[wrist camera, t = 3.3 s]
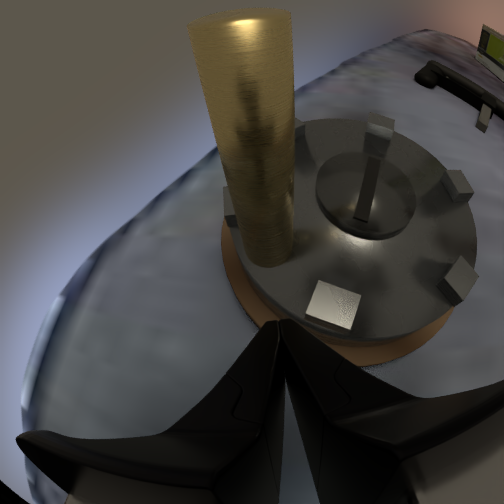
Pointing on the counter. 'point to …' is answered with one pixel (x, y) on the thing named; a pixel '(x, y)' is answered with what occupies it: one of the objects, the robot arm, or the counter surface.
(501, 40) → the tea box
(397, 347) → the base
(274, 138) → the ring nut
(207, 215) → the counter surface
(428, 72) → the door handle
